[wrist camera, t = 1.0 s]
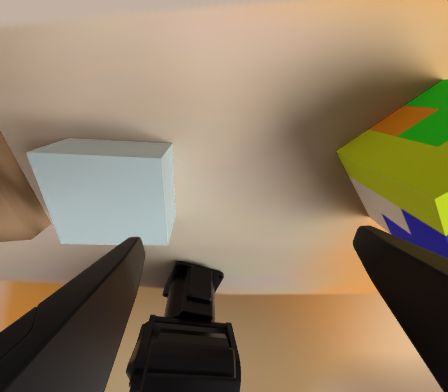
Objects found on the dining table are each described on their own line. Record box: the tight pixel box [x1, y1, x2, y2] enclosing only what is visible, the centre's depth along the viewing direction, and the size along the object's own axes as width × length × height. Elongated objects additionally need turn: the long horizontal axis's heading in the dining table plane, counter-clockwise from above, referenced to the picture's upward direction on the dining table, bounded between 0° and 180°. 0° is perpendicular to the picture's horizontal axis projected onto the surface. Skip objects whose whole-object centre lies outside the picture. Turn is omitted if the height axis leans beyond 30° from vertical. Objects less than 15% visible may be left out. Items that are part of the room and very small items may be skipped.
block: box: [26, 138, 176, 245], centre depth 18 cm, size 8×9×5 cm
